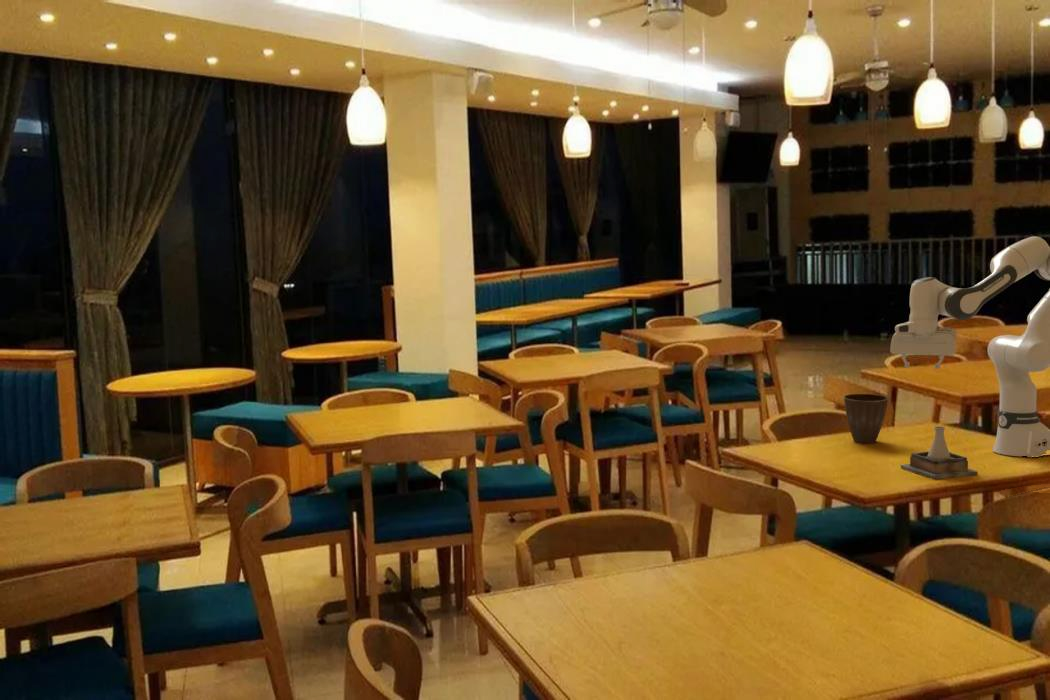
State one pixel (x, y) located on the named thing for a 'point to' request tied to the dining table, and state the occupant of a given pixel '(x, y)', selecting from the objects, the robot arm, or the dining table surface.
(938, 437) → the flask
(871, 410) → the plant pot
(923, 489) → the dining table surface
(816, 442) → the dining table surface
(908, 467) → the walnut plinth
